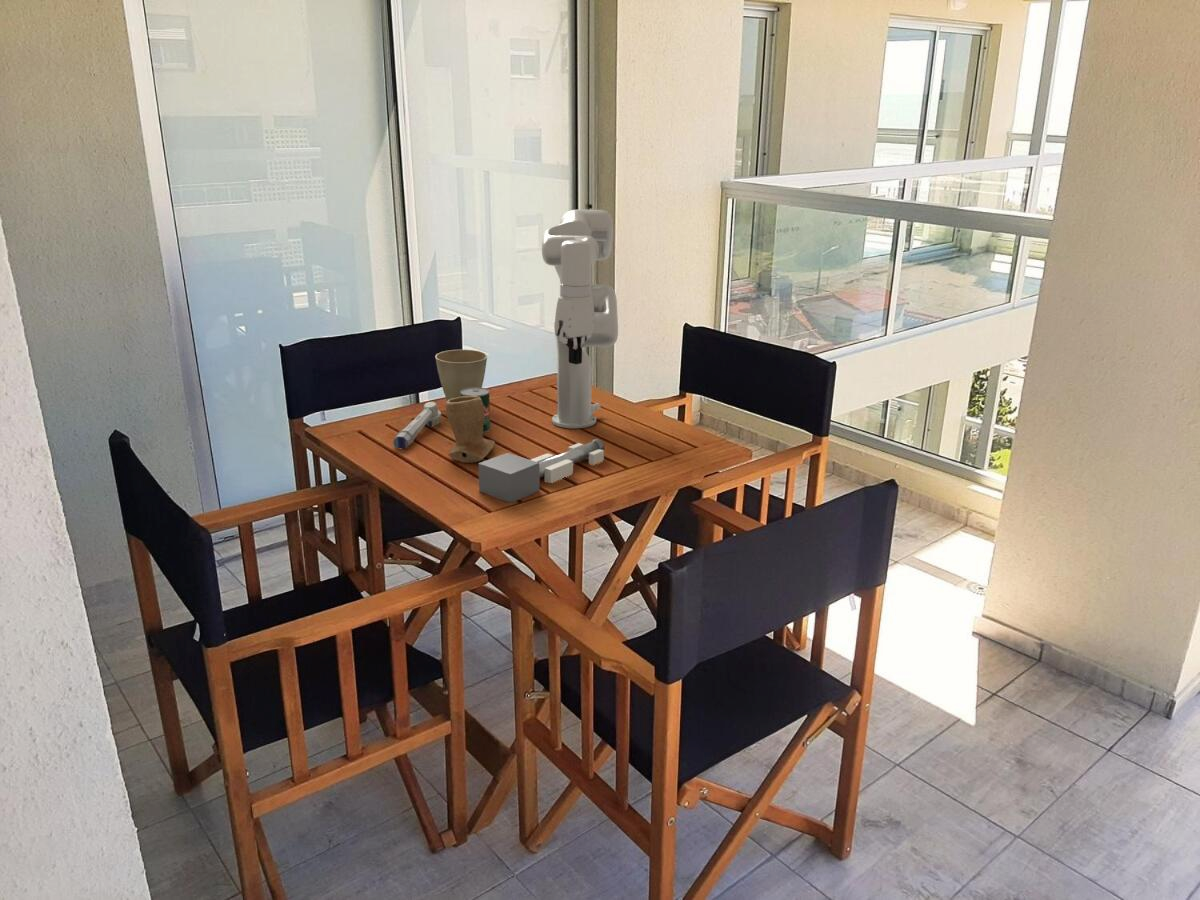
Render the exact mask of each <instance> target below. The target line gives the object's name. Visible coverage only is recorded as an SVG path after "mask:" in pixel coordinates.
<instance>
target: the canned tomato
mask: <svg viewBox="0 0 1200 900" xmlns="http://www.w3.org/2000/svg"><path fill="white" fill-rule="evenodd" d="M460 393H461V397H463V396H478V397H480V398H481V400H482V402H483V407H484V415H485V419H484V424H483V434H486V433H489V431H491V417H490V416H491V413H490V412H491V409H490V408H491V406H490V405H491V402H490V401H491V400H490V390H489V388H488V389H487V388H485V387H482V388H480V387H472V388H466V389H463V390H461V392H460Z"/></svg>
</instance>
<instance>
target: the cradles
mask: <svg viewBox="0 0 1200 900" xmlns="http://www.w3.org/2000/svg"><path fill="white" fill-rule="evenodd" d="M583 445H584V444H583V443H580V442H577V443H575V444H572V445H570V446H568V450H567V451H570V450H572V449H575V448H577V447H580V446H583ZM552 457H554V454H551V453H545V454H542V455H539V456H537V457H534V458H531V459H530V460H532V461H535V462H538V463H539V462H542V461H544V460H547V459H549V458H552ZM603 460H605V449H604V450H601V449H598V450H595V451H593V452H590V453H589V458H588V464H589V463H590V464H593V465H594V464H596V463H598V462H601V461H603ZM593 465H592V466H593ZM594 466H595V465H594ZM571 474H573V475H574V464H573V461H571V460H567V459H566V460H564V461H561V462H559V463H556V464H554V465H551V466H549V467H546V468H545V476H544V482H545V481H546V482H545V483H547V482H550V483H552V484H554V483H556V482H555V481H557V480H559V479H561V480H563V479H562V478H564V477H566V478H568V477H570V476H569V475H571ZM567 476H568V477H567ZM571 476H572V475H571ZM564 479H565V478H564ZM559 481H560V480H559ZM553 482H554V483H553ZM557 482H558V481H557ZM550 483H549V484H550Z"/></svg>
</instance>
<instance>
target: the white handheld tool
mask: <svg viewBox="0 0 1200 900" xmlns="http://www.w3.org/2000/svg"><path fill="white" fill-rule="evenodd" d="M441 417H442V412H441V410H439V409H438V404H437V403H436V402H435V401H429V402H425V404H424V405H423V410H422V411H421V412H420V413H419V414H418V415H417V416H416V417H415V418H414V419H412V421H411V422H410V423H409V424H408V425H406V427H405V428H404V429H400V431H398V432H397V434H396V437H395V438H394V439H393V441H392V442H393V447H395V449H397V448H402V449H401V450H406V449H407V448H408V447H409V446H410V445H412V444H413V443H414V440H415V439H416V437H417V436H418V434H419V433H420V432H421V431H422V430H423V428H424V427H426V426H425V425H428V426H427V427H433V426H434V425H435V426H436V425H440V424H441ZM439 423H440V424H439ZM432 425H433V426H432ZM435 426H434V427H435Z"/></svg>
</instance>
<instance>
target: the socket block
mask: <svg viewBox="0 0 1200 900" xmlns="http://www.w3.org/2000/svg"><path fill="white" fill-rule="evenodd" d="M478 491H479V492H480V493H482V494H485V495H488V496H491V497H493V498H497V499H499V500H501V501H504V502H507V503H512V504H513V503H514V502H517V501H518V500H519V501H520V500H521V499H523V498H526V497H528V496H531V495H534V494H535V492H536V493H538V492H540V478H539V463H538V462H535V461H532V460H531V459H528V458H525V457H522V456H519V455H515V454H512V453H509V452H506V453H503V454H500V455H497V456H495V457H492V458H489V459H487V460H484V461H483V460H482V462H479V463H478ZM537 491H538V492H537Z"/></svg>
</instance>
